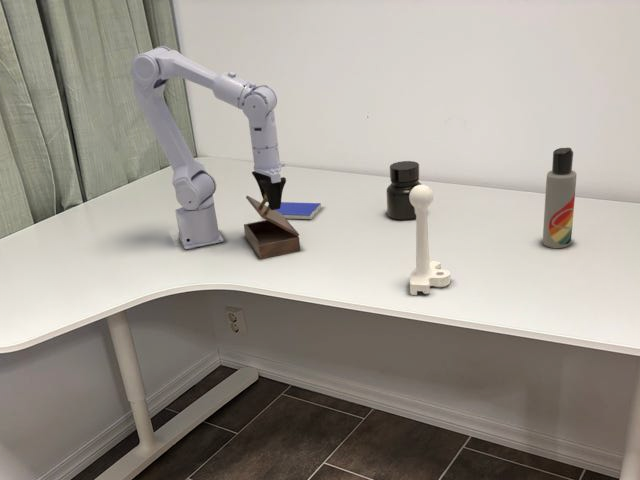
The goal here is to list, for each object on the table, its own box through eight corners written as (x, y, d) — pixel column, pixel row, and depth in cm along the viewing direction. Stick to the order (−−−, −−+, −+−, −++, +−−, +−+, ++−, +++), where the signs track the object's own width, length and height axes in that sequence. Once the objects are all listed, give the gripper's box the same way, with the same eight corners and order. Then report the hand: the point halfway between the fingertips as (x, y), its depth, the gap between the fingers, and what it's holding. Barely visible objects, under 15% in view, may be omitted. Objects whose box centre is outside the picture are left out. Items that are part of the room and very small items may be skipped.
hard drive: (263, 212, 195) (310, 213, 191) (275, 201, 202) (320, 202, 197) (264, 218, 196) (310, 220, 192) (276, 207, 202) (321, 208, 198)
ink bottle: (427, 219, 183) (426, 169, 177) (389, 223, 184) (387, 173, 178) (421, 205, 192) (420, 157, 186) (385, 209, 192) (383, 161, 186)
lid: (261, 217, 169) (270, 200, 168) (245, 197, 182) (254, 181, 180) (298, 236, 174) (307, 220, 172) (280, 216, 186) (289, 201, 185)
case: (260, 259, 174) (258, 245, 172) (245, 237, 186) (243, 224, 185) (300, 250, 175) (299, 237, 174) (283, 229, 188) (281, 216, 186)
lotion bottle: (572, 248, 161) (580, 152, 150) (543, 248, 162) (549, 153, 152) (569, 237, 165) (577, 144, 155) (541, 238, 167) (547, 145, 157)
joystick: (419, 270, 159) (416, 175, 149) (455, 272, 157) (455, 176, 147) (405, 294, 151) (401, 195, 141) (444, 297, 148) (443, 196, 138)
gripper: (291, 150, 164) (297, 211, 171) (274, 135, 176) (280, 192, 183) (259, 156, 163) (267, 217, 170) (244, 140, 175) (251, 198, 182)
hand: (272, 205), depth 176 cm, fingers closed on lid, 5 cm apart
